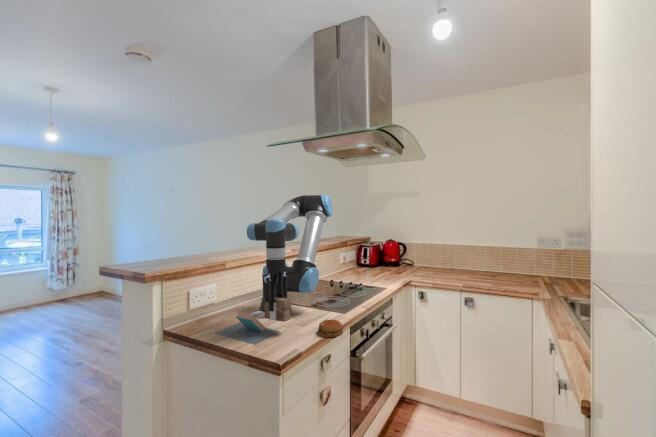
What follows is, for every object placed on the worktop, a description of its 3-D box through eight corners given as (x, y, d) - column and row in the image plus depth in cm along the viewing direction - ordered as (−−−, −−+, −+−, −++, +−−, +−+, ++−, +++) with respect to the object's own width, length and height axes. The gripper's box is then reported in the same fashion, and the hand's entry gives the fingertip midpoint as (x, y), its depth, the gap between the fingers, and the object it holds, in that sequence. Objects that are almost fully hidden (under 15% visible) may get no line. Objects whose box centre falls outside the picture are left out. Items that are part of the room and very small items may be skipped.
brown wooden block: (292, 318, 122) (291, 298, 122) (282, 322, 117) (282, 301, 117) (258, 311, 131) (257, 293, 131) (247, 316, 126) (247, 296, 126)
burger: (347, 334, 120) (347, 322, 120) (327, 340, 115) (327, 328, 115) (333, 327, 129) (332, 316, 128) (314, 332, 123) (313, 320, 123)
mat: (280, 332, 123) (280, 331, 123) (255, 346, 110) (255, 344, 110) (240, 323, 134) (240, 322, 134) (214, 334, 122) (214, 333, 122)
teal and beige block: (249, 323, 127) (238, 312, 122) (264, 327, 123) (253, 315, 118) (247, 328, 126) (235, 317, 121) (262, 332, 122) (250, 320, 117)
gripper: (281, 255, 131) (282, 310, 131) (253, 260, 116) (254, 322, 117) (295, 256, 127) (296, 312, 127) (269, 261, 113) (270, 325, 113)
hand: (276, 317), depth 122 cm, fingers closed on brown wooden block, 3 cm apart
